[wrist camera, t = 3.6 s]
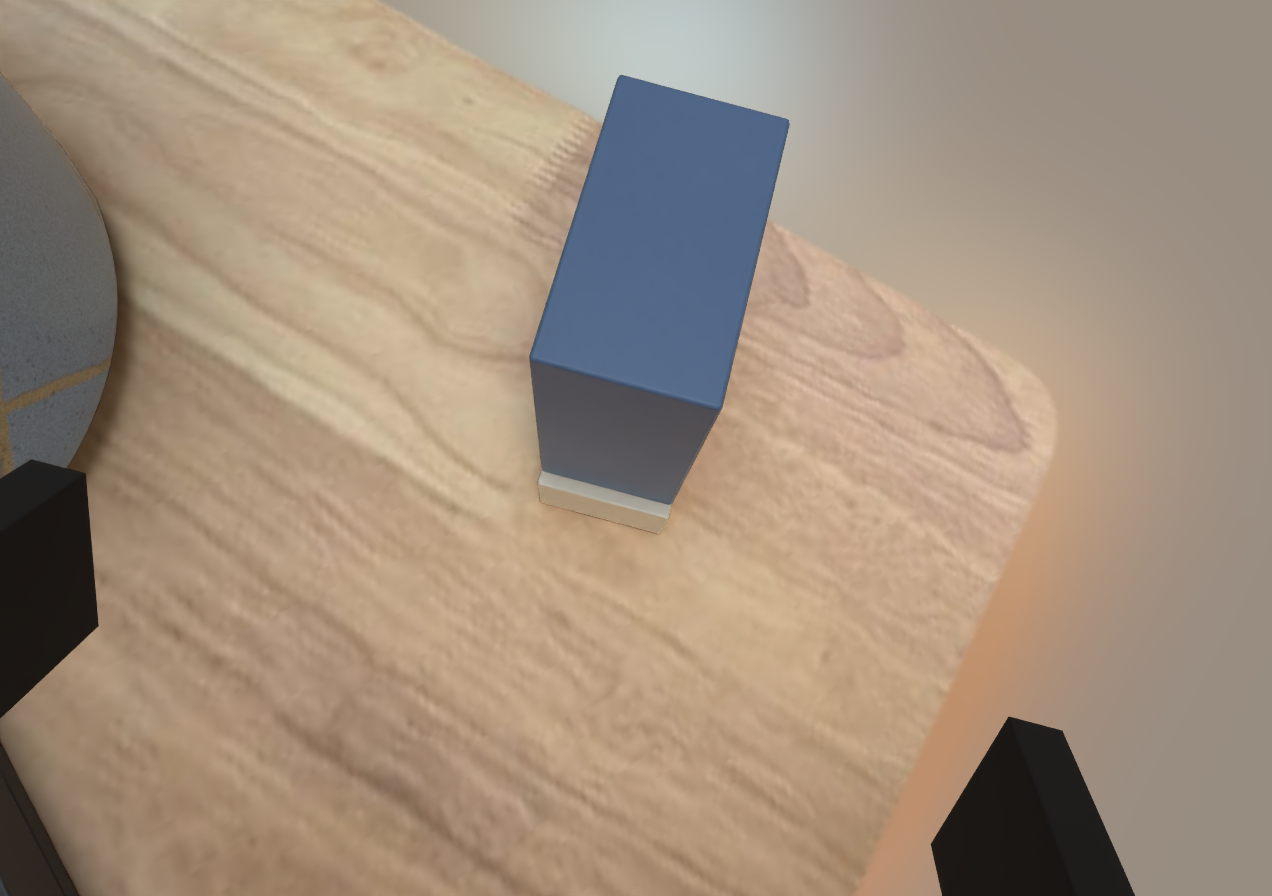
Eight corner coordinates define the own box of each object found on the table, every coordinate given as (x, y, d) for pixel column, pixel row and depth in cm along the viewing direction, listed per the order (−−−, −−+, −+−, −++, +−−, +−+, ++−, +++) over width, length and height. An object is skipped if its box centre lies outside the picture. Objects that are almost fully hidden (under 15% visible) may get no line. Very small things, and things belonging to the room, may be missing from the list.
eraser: (660, 534, 27) (717, 428, 17) (539, 502, 27) (521, 377, 17) (714, 316, 30) (794, 104, 19) (603, 286, 30) (623, 57, 19)
